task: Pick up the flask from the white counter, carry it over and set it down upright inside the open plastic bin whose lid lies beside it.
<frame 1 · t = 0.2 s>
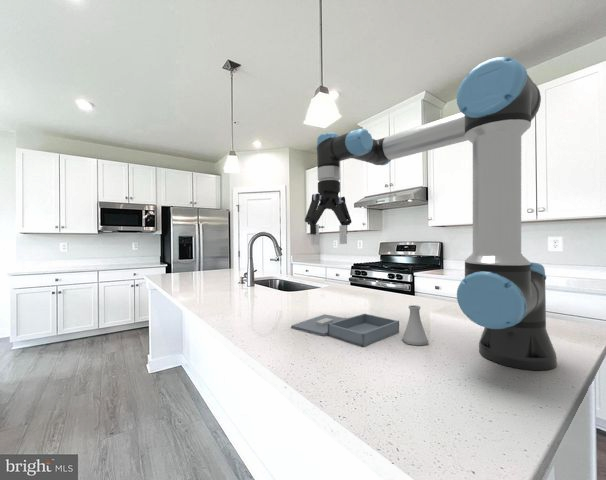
hand: (329, 244, 99), 28 cm above the counter, fingers open, 13 cm apart
bin: (363, 334, 90), on the counter
flask: (415, 342, 83), on the counter
bin lid: (324, 325, 100), on the counter
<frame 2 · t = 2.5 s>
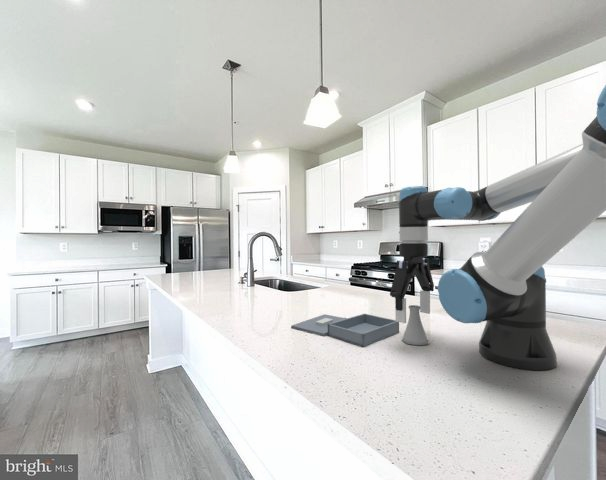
hand: (413, 317, 84), 7 cm above the counter, fingers open, 13 cm apart
nothing on the counter moved.
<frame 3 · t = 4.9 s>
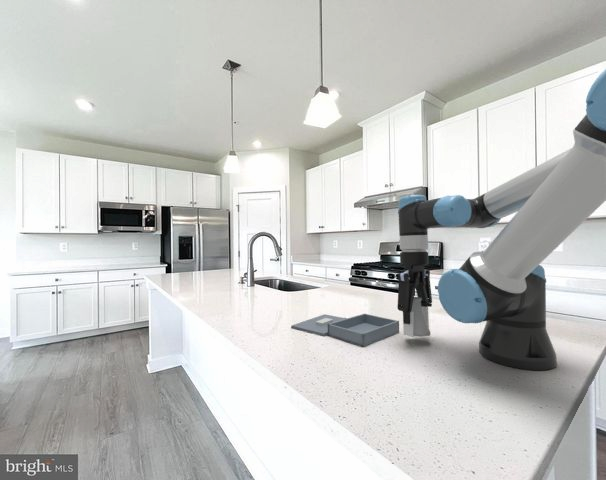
hand: (416, 332, 83), 3 cm above the counter, fingers closed on flask, 8 cm apart
flask: (417, 334, 83), point 2 cm above the counter, touching gripper
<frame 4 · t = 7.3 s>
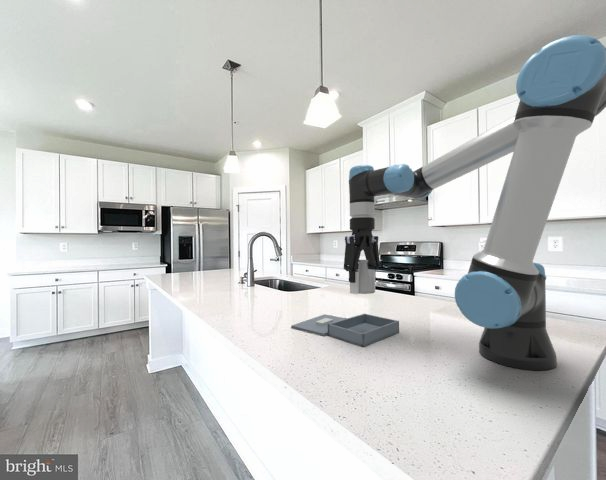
hand: (363, 291, 90), 13 cm above the counter, fingers closed on flask, 8 cm apart
flask: (363, 293, 90), point 13 cm above the counter, touching gripper
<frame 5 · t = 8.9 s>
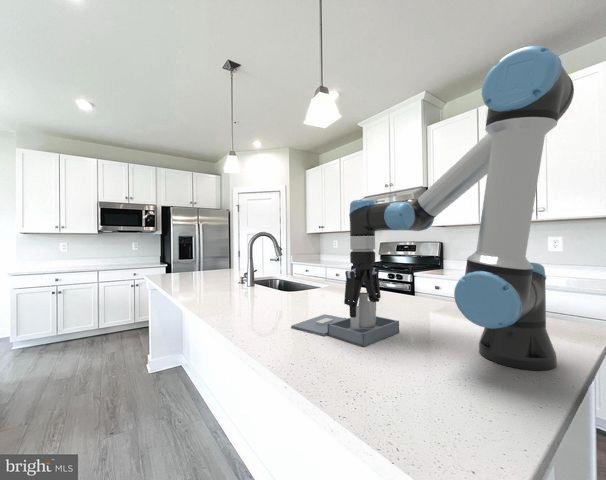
hand: (363, 324, 90), 3 cm above the counter, fingers closed on flask, 8 cm apart
flask: (363, 326, 90), point 2 cm above the counter, touching gripper
when the fingers open (2 cm above the counter, at t = 9.9 s): flask drops 1 cm, resting on bin.
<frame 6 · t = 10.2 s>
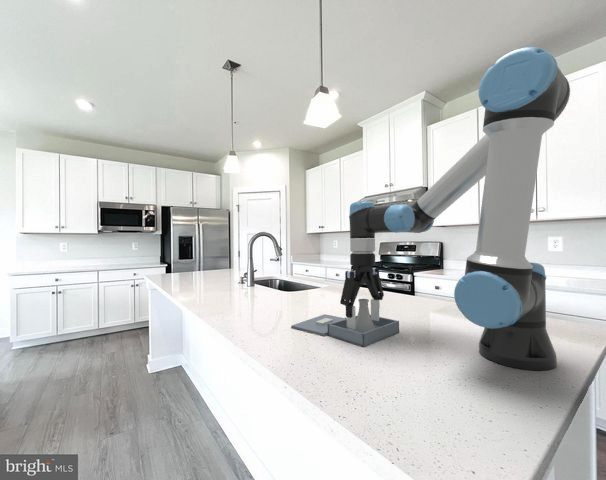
hand: (363, 323, 90), 3 cm above the counter, fingers open, 11 cm apart
flask: (364, 332, 90), resting on bin
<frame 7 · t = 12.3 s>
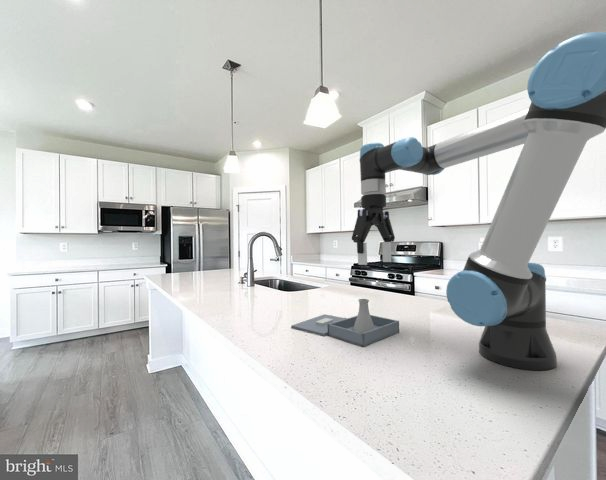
hand: (375, 263, 91), 22 cm above the counter, fingers open, 13 cm apart
nothing on the counter moved.
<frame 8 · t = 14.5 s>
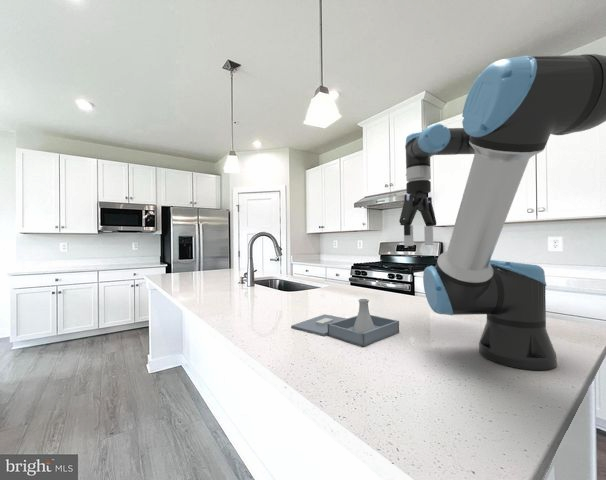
hand: (419, 245, 98), 27 cm above the counter, fingers open, 13 cm apart
nothing on the counter moved.
at the end: flask inside the target area on the bin (0.2 cm from its centre), point 0.4 cm above the bin's base; flask tilted 0°; the gripper is holding nothing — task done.
